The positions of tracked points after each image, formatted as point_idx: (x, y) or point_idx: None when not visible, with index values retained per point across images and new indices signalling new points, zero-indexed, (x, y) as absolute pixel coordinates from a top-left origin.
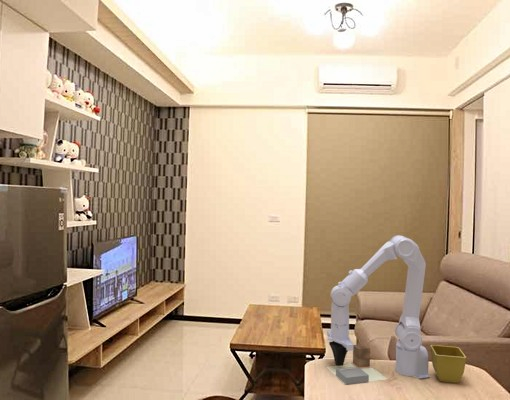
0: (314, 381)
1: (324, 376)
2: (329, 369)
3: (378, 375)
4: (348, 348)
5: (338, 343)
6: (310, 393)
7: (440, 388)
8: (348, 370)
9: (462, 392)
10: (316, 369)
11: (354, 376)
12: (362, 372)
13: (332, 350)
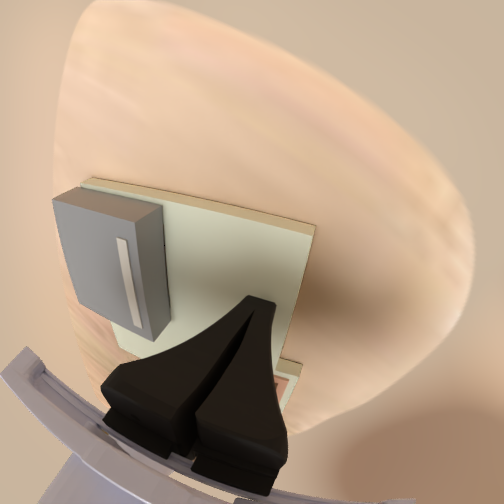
0: (181, 48)
1: (224, 148)
2: (258, 228)
3: (143, 352)
4: (18, 360)
5: (155, 442)
6: (92, 3)
7: (106, 378)
8: (113, 271)
9: (96, 382)
10: (358, 170)
11: (62, 244)
12: (97, 305)
13: (262, 378)
